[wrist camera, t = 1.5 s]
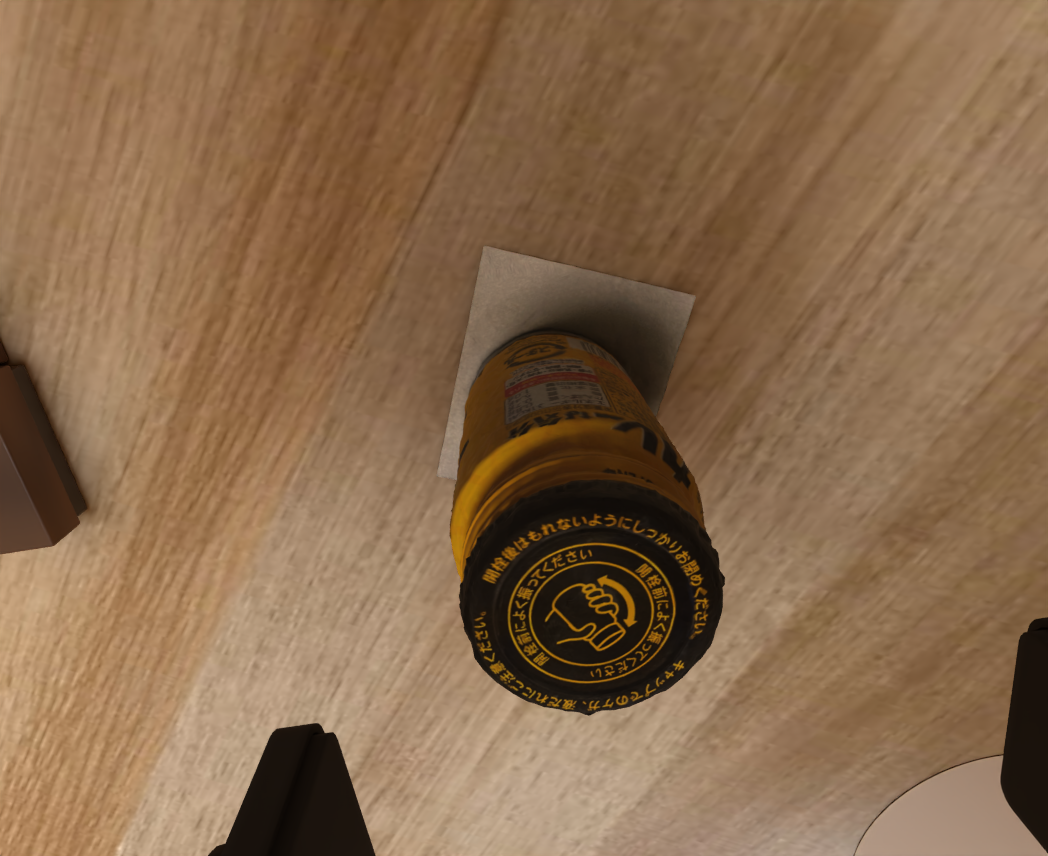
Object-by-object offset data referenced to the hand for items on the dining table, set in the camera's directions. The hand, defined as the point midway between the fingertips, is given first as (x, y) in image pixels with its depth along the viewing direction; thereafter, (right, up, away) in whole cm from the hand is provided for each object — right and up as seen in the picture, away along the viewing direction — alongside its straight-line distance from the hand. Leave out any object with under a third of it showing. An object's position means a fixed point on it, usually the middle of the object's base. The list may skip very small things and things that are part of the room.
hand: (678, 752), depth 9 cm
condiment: (-1, +6, +15) cm, 16 cm away
